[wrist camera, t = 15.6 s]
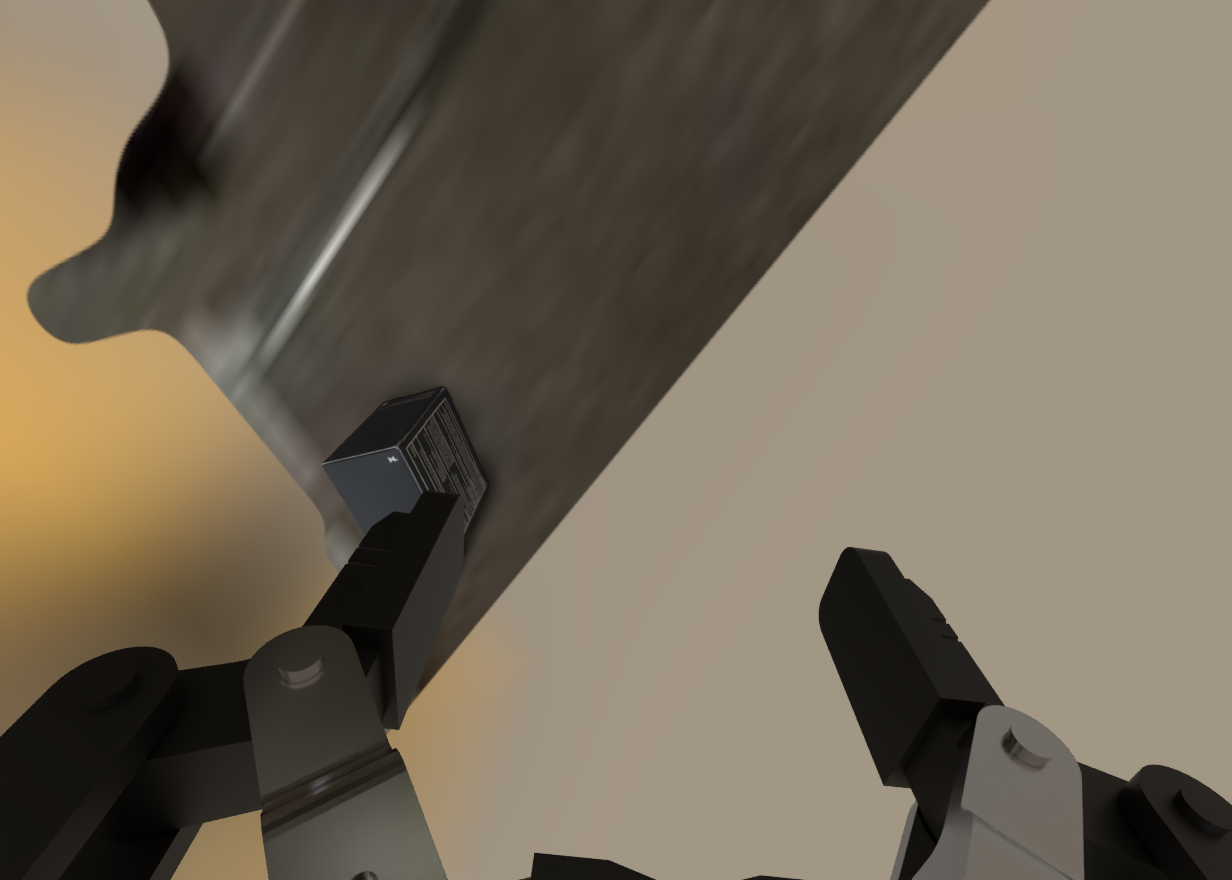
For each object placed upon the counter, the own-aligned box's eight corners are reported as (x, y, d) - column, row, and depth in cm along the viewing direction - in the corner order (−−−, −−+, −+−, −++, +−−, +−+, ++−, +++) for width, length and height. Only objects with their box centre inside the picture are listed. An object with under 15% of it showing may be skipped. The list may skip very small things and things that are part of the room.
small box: (376, 402, 46) (313, 463, 37) (446, 384, 45) (399, 442, 36) (427, 501, 51) (383, 577, 42) (492, 486, 50) (460, 561, 41)
